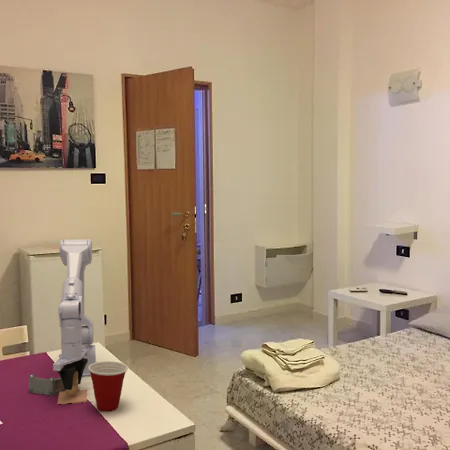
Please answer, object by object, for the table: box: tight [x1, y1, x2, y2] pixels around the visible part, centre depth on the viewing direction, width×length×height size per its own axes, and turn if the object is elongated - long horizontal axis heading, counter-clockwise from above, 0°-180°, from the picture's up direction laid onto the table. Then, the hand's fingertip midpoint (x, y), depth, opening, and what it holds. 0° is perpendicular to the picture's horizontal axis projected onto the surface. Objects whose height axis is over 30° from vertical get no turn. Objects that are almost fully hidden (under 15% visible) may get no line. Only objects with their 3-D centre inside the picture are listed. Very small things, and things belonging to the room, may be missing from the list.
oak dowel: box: [66, 370, 80, 395], centre depth 152 cm, size 4×4×6 cm
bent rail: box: [28, 373, 66, 397], centre depth 156 cm, size 14×6×5 cm, turn 104°
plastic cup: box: [88, 360, 129, 413], centre depth 146 cm, size 11×11×12 cm
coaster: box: [57, 389, 88, 405], centre depth 153 cm, size 8×8×1 cm
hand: (72, 386), depth 152 cm, fingers closed on oak dowel, 4 cm apart
